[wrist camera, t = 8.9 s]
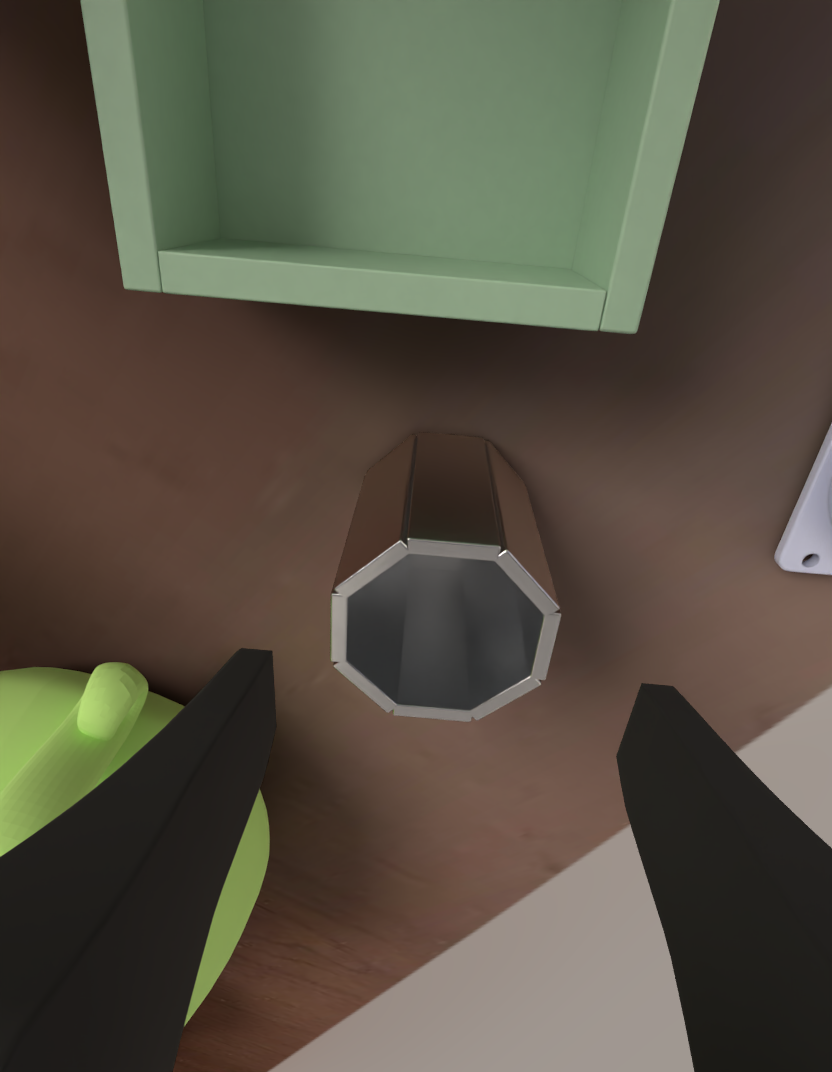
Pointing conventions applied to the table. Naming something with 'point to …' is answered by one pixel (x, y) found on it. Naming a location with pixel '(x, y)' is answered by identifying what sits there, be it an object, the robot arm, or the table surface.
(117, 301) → the table surface
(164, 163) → the green open box
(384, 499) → the steel cup
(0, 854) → the teapot
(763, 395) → the table surface
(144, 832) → the robot arm
